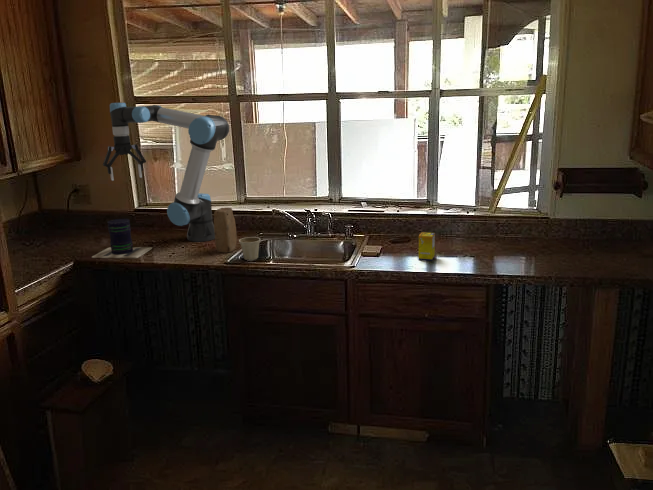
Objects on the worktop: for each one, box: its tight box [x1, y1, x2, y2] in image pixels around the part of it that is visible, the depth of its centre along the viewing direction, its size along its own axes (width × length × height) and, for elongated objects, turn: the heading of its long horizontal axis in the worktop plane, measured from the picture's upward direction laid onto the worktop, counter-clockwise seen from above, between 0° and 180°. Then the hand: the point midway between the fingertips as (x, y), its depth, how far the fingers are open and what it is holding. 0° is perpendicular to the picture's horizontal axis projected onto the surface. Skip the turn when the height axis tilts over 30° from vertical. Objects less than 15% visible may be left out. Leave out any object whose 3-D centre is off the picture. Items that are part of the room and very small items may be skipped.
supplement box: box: [417, 231, 436, 262], centre depth 246 cm, size 6×6×11 cm
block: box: [213, 207, 238, 254], centre depth 268 cm, size 11×8×20 cm
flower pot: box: [238, 236, 261, 261], centre depth 255 cm, size 9×9×9 cm
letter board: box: [91, 246, 153, 259], centre depth 271 cm, size 22×16×1 cm
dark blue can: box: [107, 218, 134, 255], centre depth 270 cm, size 10×10×15 cm
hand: (126, 178), depth 285 cm, fingers open, 13 cm apart
